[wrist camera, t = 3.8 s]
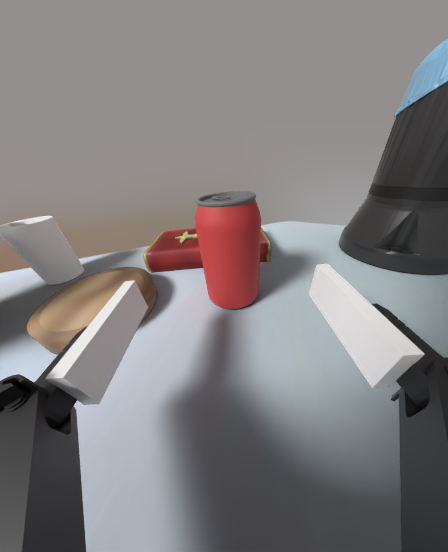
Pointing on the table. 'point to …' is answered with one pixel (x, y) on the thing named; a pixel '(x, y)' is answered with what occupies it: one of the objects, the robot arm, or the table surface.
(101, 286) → the shallow wooden bowl
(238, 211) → the beer can
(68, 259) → the white cup
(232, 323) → the table surface
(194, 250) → the hardcover book
